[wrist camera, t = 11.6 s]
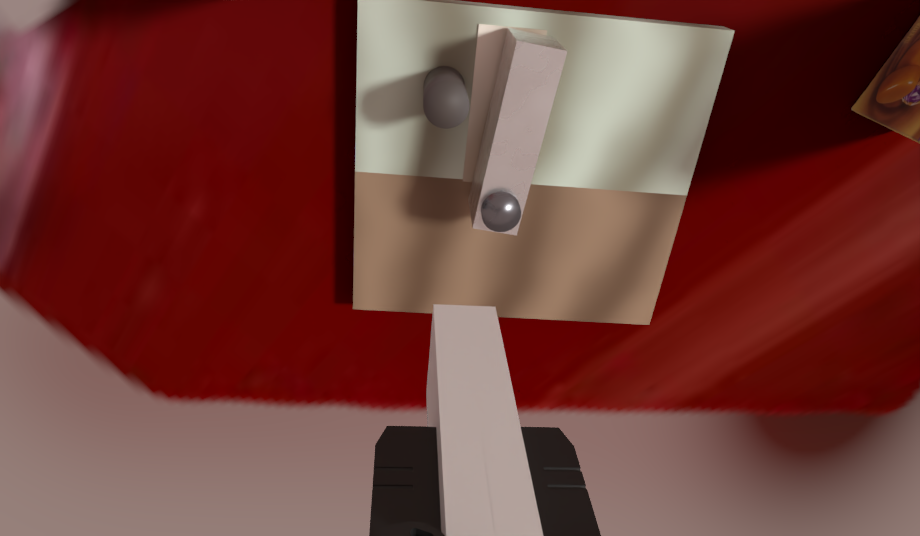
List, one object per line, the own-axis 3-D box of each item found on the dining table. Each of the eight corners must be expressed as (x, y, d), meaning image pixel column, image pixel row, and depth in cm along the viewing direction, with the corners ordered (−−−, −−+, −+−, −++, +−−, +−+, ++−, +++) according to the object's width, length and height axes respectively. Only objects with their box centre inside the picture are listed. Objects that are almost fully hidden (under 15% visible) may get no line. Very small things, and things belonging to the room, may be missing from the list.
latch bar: (508, 206, 40) (517, 240, 36) (468, 199, 40) (473, 232, 35) (552, 36, 35) (569, 53, 31) (507, 26, 35) (518, 42, 31)
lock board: (355, 297, 45) (346, 343, 40) (360, -9, 35) (349, 3, 30) (642, 313, 47) (667, 359, 42) (723, 26, 37) (768, 43, 32)
